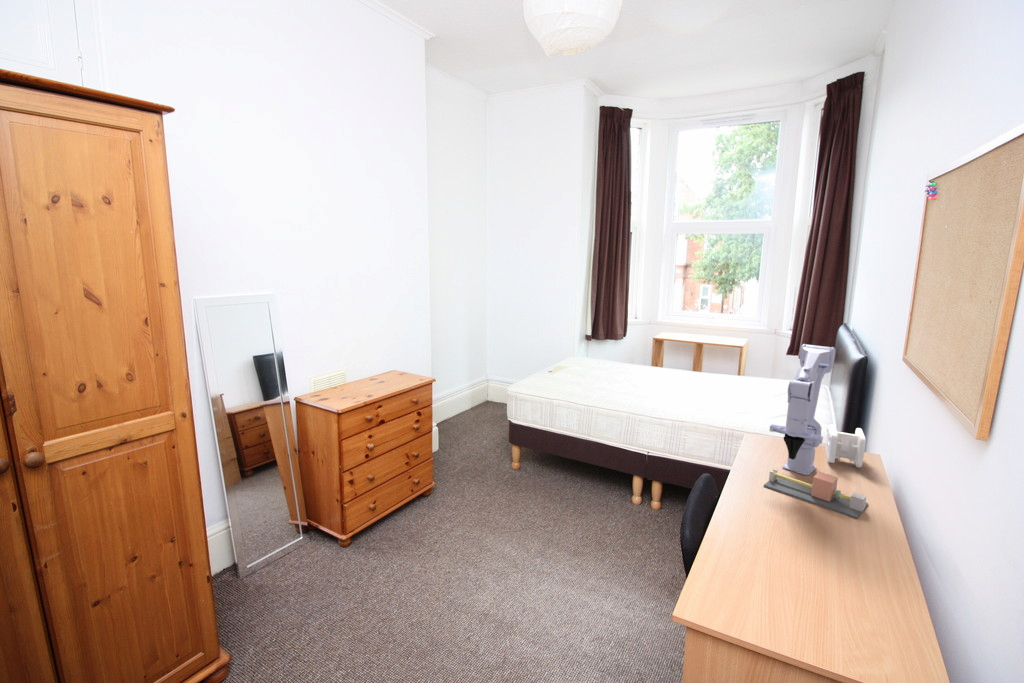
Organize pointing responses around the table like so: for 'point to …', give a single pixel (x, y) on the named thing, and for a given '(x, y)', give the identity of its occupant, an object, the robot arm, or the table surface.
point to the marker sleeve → (824, 486)
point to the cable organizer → (845, 445)
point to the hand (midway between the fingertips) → (792, 458)
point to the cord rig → (803, 491)
